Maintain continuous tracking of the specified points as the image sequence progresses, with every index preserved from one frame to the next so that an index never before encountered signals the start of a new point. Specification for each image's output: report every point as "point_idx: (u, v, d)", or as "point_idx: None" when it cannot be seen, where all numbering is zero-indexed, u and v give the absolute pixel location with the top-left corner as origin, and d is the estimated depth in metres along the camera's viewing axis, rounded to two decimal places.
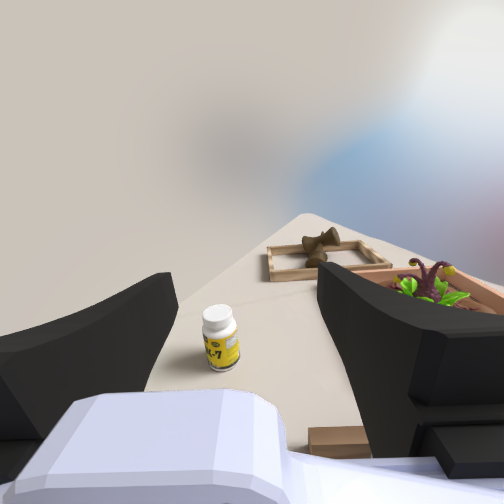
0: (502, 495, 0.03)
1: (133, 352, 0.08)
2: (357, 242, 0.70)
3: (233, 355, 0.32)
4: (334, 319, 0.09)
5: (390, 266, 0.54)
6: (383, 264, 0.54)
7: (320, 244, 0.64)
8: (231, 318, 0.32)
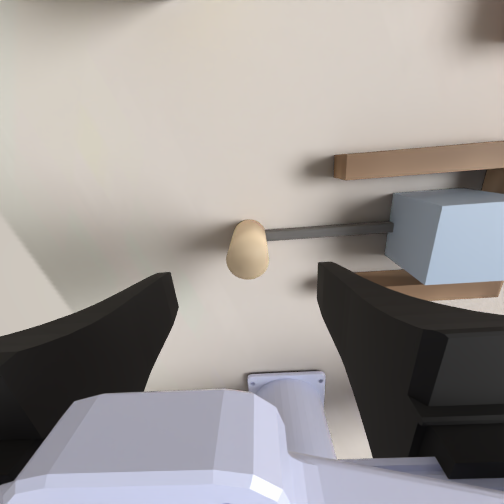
0: (502, 496, 0.03)
1: (133, 352, 0.08)
2: None
3: None
4: (335, 319, 0.09)
5: None
6: None
7: None
8: None
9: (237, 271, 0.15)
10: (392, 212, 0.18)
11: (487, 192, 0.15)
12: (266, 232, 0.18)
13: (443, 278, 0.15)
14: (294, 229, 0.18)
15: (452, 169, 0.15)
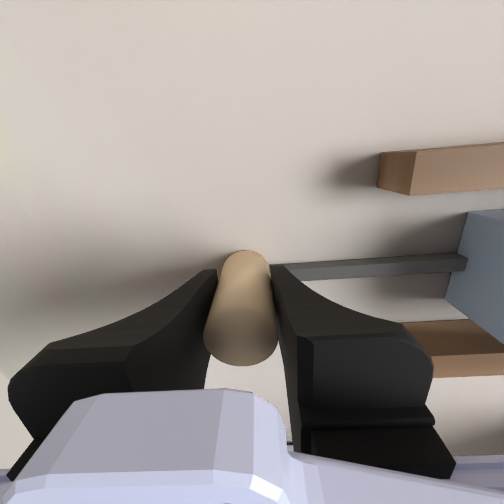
0: (502, 495, 0.03)
1: (197, 349, 0.08)
2: None
3: None
4: (278, 322, 0.09)
5: None
6: None
7: None
8: None
9: (223, 354, 0.08)
10: (465, 241, 0.12)
11: None
12: None
13: None
14: (313, 265, 0.12)
15: None
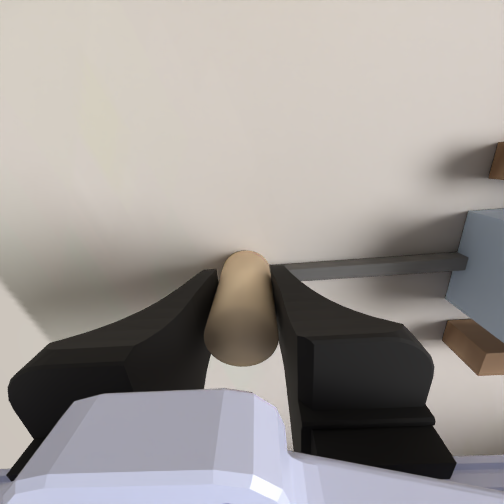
0: (502, 495, 0.03)
1: (197, 349, 0.08)
2: None
3: None
4: (278, 322, 0.09)
5: None
6: None
7: None
8: None
9: (224, 354, 0.08)
10: (465, 240, 0.12)
11: None
12: None
13: None
14: (314, 265, 0.12)
15: None
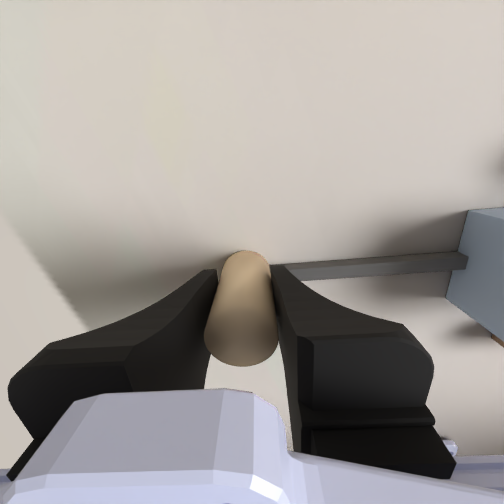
0: (502, 495, 0.03)
1: (197, 349, 0.08)
2: None
3: None
4: (278, 322, 0.09)
5: None
6: None
7: None
8: None
9: (224, 355, 0.08)
10: (465, 239, 0.12)
11: None
12: None
13: None
14: (314, 265, 0.12)
15: None
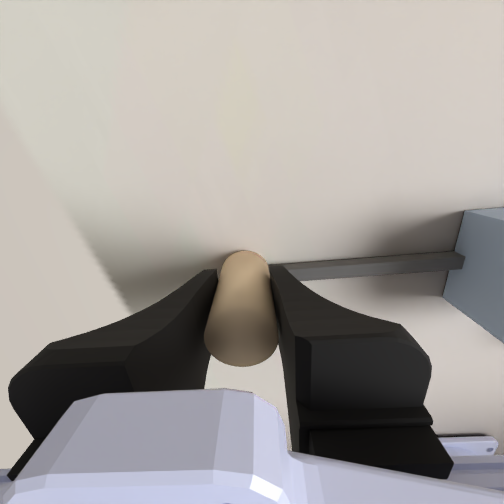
0: (502, 495, 0.03)
1: (197, 349, 0.08)
2: None
3: None
4: (277, 322, 0.09)
5: None
6: None
7: None
8: None
9: (224, 355, 0.08)
10: (462, 239, 0.12)
11: None
12: None
13: None
14: (312, 265, 0.12)
15: None
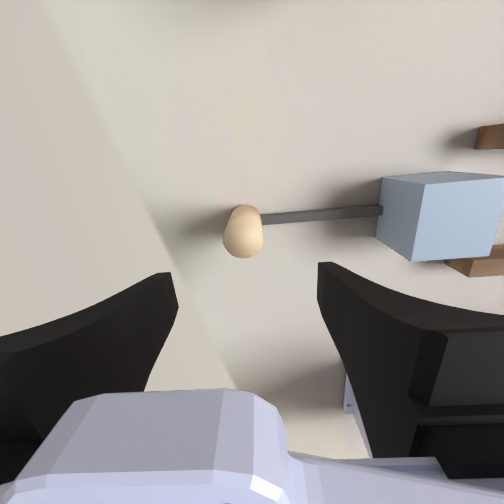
0: (502, 495, 0.03)
1: (133, 352, 0.08)
2: None
3: None
4: (334, 319, 0.09)
5: None
6: None
7: None
8: None
9: (233, 250, 0.15)
10: (381, 195, 0.19)
11: (470, 173, 0.16)
12: (261, 216, 0.19)
13: (428, 254, 0.15)
14: (288, 213, 0.19)
15: None
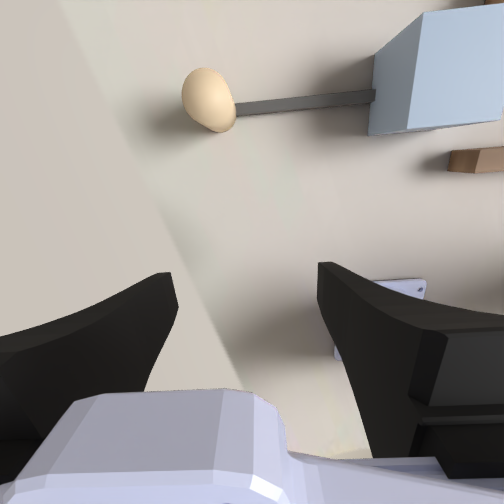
0: (502, 495, 0.03)
1: (133, 352, 0.08)
2: None
3: None
4: (334, 319, 0.09)
5: None
6: None
7: None
8: None
9: (195, 113, 0.13)
10: (374, 77, 0.16)
11: None
12: (236, 104, 0.17)
13: (427, 118, 0.13)
14: None
15: None
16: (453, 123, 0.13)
